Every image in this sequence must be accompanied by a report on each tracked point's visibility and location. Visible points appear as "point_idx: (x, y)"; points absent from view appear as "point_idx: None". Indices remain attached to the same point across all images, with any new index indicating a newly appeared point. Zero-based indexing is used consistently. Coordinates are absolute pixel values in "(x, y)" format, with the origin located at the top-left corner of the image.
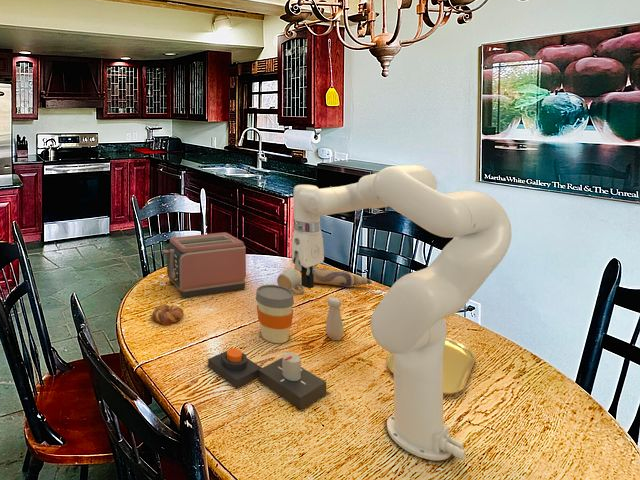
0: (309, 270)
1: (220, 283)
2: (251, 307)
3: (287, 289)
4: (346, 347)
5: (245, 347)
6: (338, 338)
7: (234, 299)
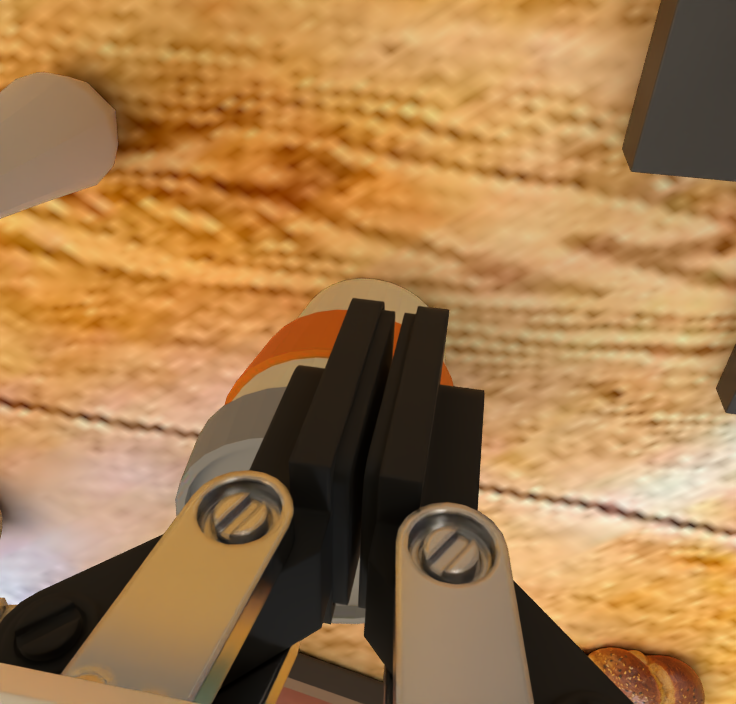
0: (406, 614)
1: None
2: None
3: (185, 501)
4: (105, 2)
5: (592, 382)
6: (85, 85)
7: None
